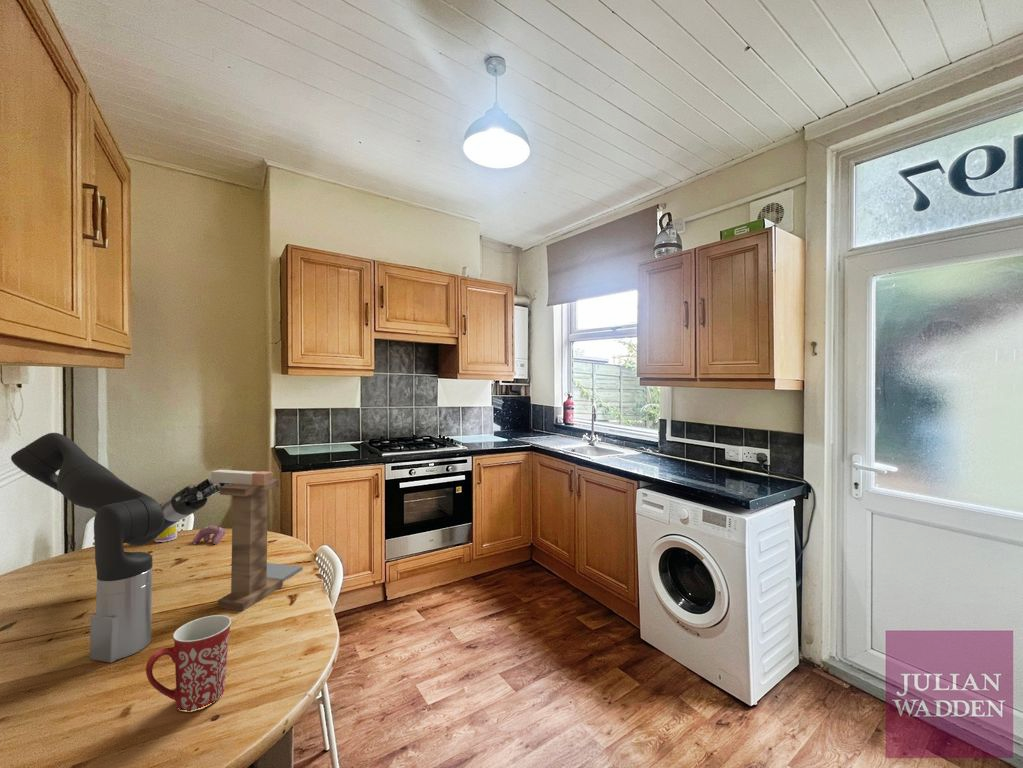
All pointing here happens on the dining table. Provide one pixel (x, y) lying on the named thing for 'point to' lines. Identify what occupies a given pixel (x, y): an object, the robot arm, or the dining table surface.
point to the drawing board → (282, 571)
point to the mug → (196, 662)
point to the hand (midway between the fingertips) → (224, 478)
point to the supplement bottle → (168, 534)
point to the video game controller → (207, 532)
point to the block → (242, 477)
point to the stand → (249, 546)
